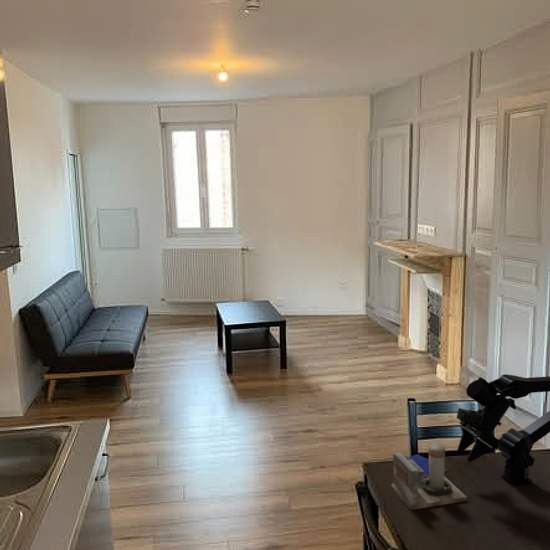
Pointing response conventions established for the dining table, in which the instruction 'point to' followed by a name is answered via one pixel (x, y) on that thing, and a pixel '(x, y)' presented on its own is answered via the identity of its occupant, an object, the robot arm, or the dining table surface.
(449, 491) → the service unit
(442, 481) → the cartridge
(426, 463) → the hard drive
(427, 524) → the dining table surface
